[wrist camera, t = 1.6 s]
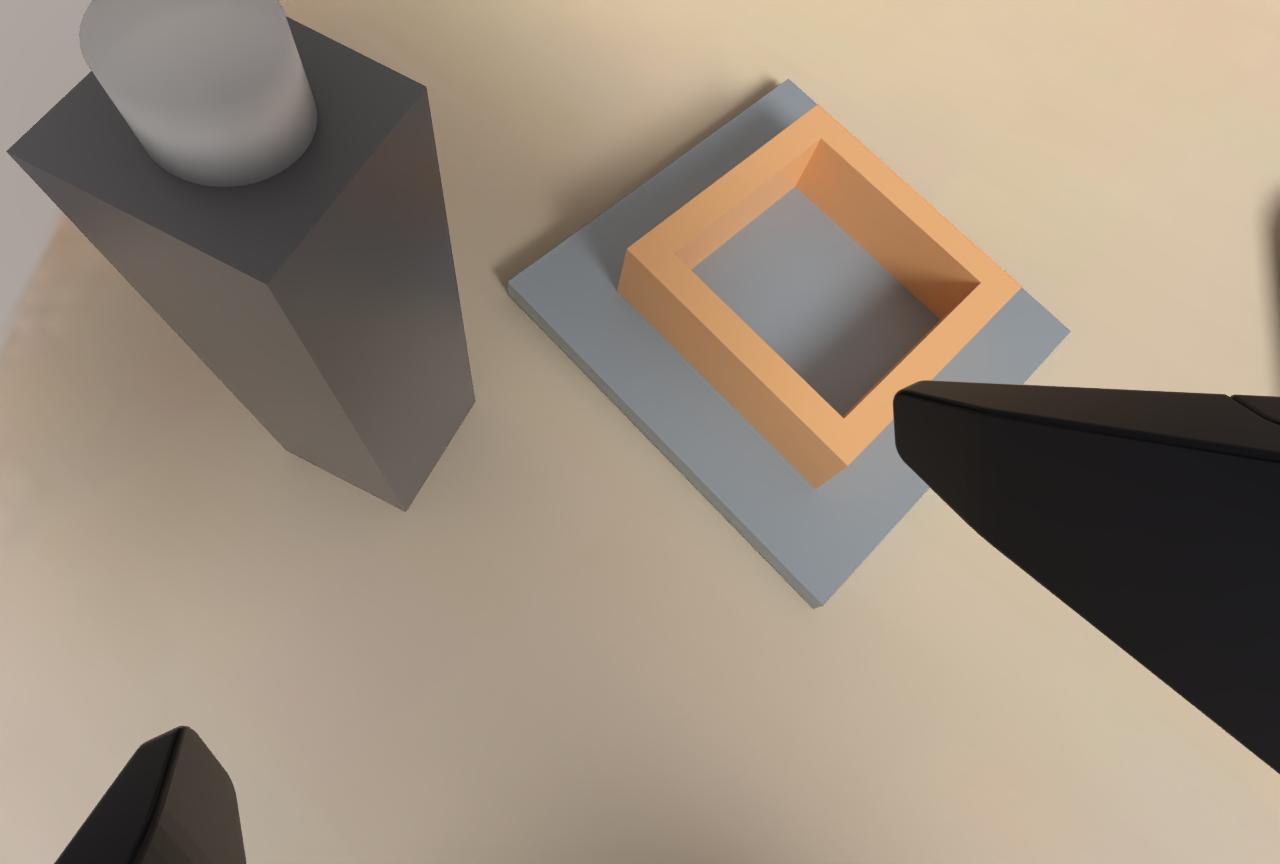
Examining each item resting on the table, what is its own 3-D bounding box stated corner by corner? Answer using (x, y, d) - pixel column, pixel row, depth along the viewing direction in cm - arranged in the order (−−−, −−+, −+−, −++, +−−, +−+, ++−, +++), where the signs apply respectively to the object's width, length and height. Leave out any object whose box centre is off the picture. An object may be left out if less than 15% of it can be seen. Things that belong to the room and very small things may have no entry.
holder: (813, 608, 23) (858, 594, 20) (508, 294, 25) (506, 237, 22) (1055, 341, 28) (1122, 296, 25) (781, 94, 30) (811, 24, 27)
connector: (406, 512, 22) (226, 217, 9) (286, 449, 22) (-76, 63, 9) (475, 401, 24) (413, 2, 10) (362, 343, 24) (152, -128, 10)
